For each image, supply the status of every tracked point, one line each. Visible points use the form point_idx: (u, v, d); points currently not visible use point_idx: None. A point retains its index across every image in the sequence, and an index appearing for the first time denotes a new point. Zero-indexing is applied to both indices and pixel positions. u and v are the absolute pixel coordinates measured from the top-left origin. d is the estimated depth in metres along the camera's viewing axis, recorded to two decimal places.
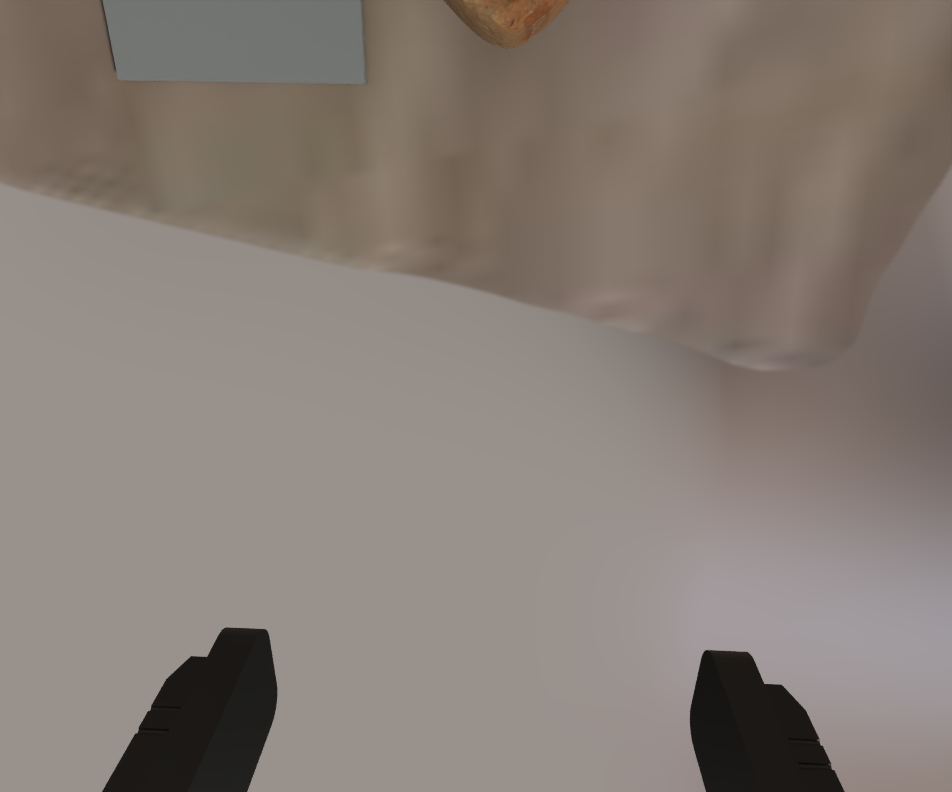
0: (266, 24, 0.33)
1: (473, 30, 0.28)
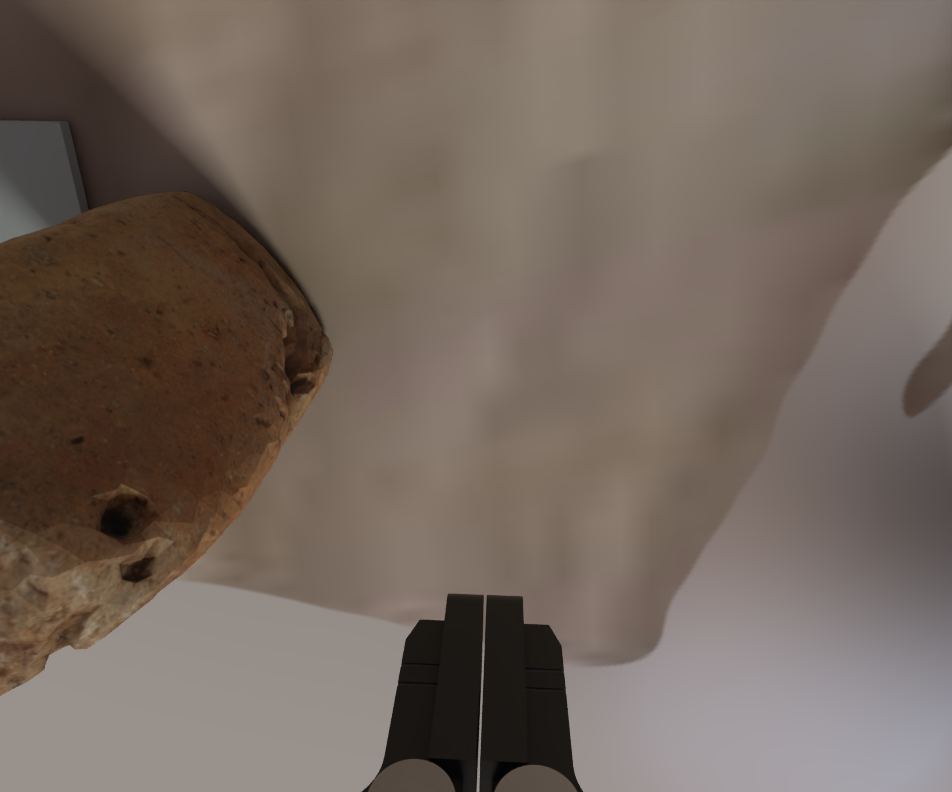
0: None
1: None
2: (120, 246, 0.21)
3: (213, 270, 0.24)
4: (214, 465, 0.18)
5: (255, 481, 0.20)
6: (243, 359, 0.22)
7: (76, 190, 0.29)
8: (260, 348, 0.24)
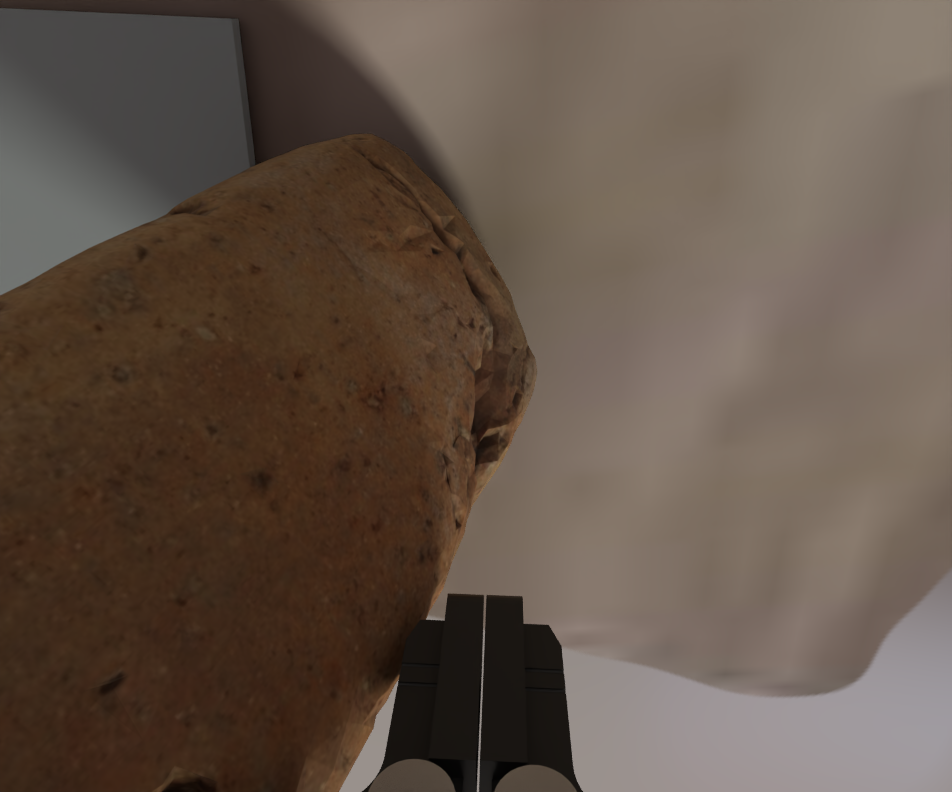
0: None
1: None
2: (256, 256, 0.13)
3: (391, 280, 0.16)
4: (341, 675, 0.11)
5: None
6: (414, 441, 0.15)
7: (243, 115, 0.22)
8: (440, 413, 0.16)
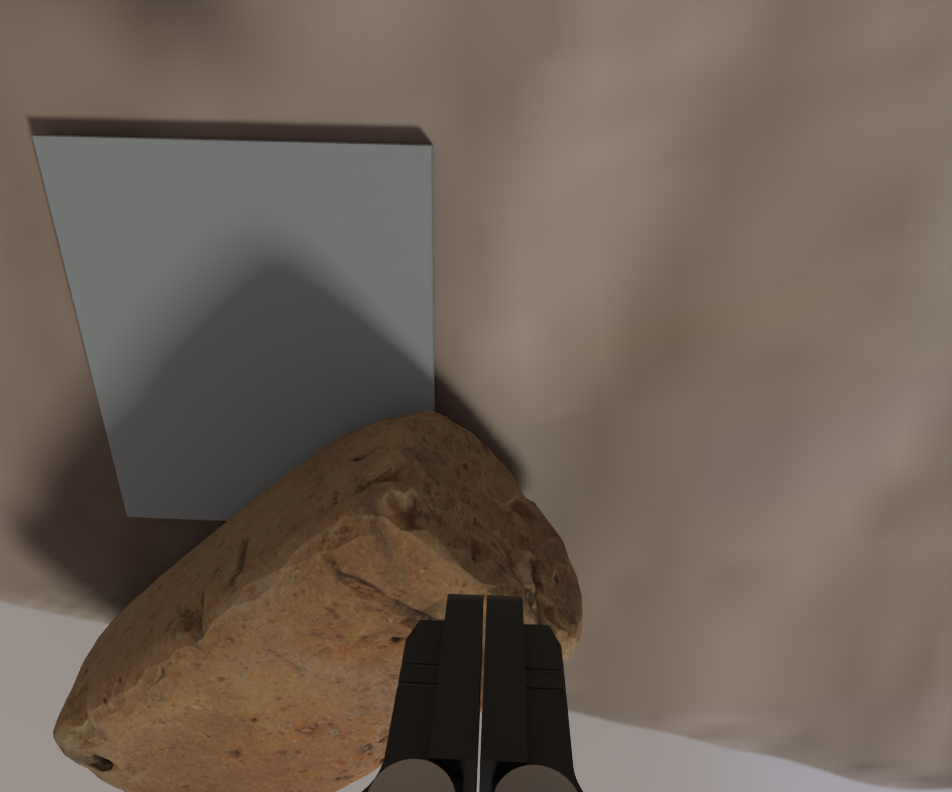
0: None
1: None
2: (221, 672, 0.21)
3: (333, 671, 0.21)
4: None
5: None
6: (337, 746, 0.23)
7: (431, 233, 0.22)
8: (366, 733, 0.23)
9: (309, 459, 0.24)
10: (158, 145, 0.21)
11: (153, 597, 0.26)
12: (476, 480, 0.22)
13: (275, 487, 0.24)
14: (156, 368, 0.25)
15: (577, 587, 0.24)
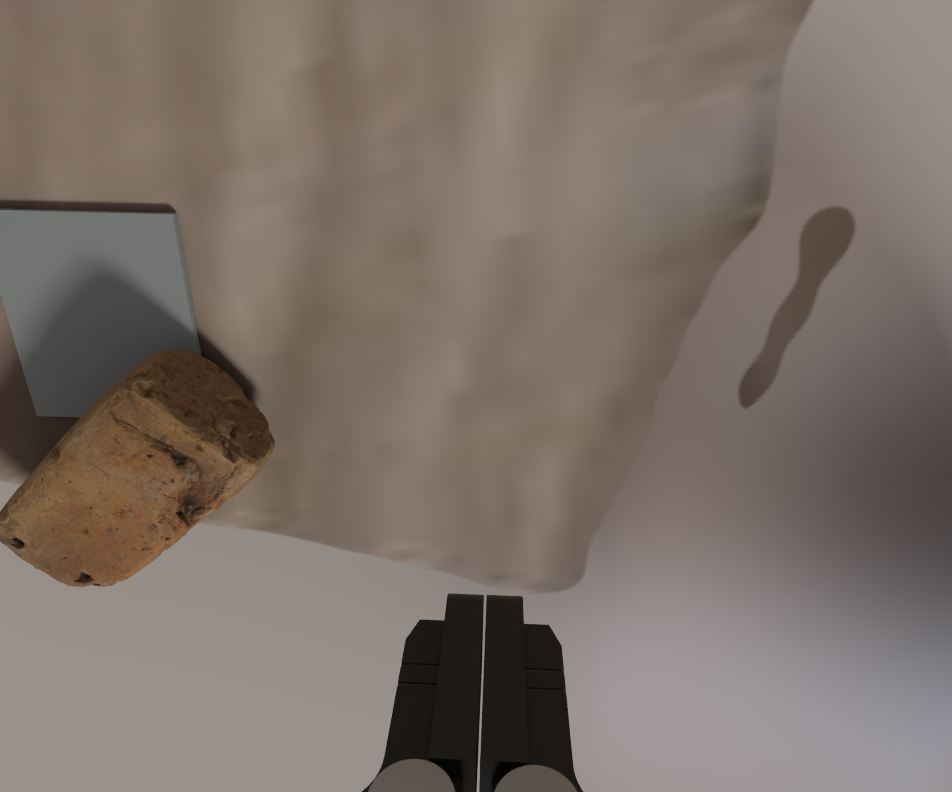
0: None
1: None
2: (69, 477, 0.43)
3: (123, 475, 0.42)
4: (115, 567, 0.47)
5: (145, 564, 0.47)
6: (136, 524, 0.44)
7: (180, 256, 0.44)
8: (149, 515, 0.44)
9: None
10: (37, 213, 0.43)
11: None
12: (203, 383, 0.44)
13: None
14: (46, 329, 0.46)
15: (268, 444, 0.45)
